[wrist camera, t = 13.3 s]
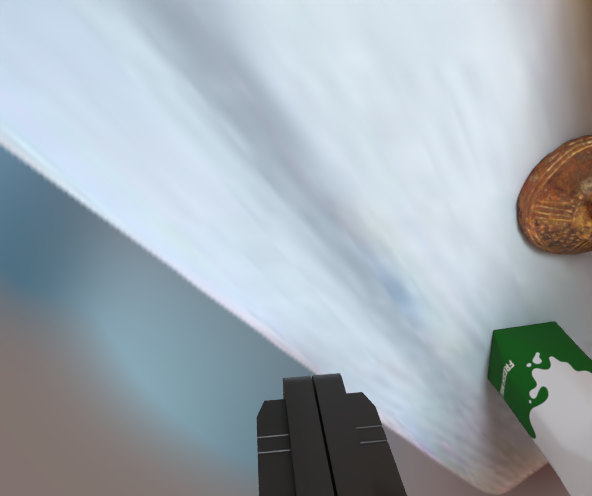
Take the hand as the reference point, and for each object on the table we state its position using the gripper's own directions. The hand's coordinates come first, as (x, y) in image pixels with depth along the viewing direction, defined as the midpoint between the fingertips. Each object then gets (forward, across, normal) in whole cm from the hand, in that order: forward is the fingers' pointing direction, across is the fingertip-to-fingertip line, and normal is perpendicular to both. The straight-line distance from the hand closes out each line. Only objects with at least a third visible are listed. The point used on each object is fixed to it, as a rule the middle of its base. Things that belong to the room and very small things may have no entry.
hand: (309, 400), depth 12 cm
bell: (+30, -30, +6) cm, 42 cm away
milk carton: (+29, -28, +24) cm, 47 cm away
